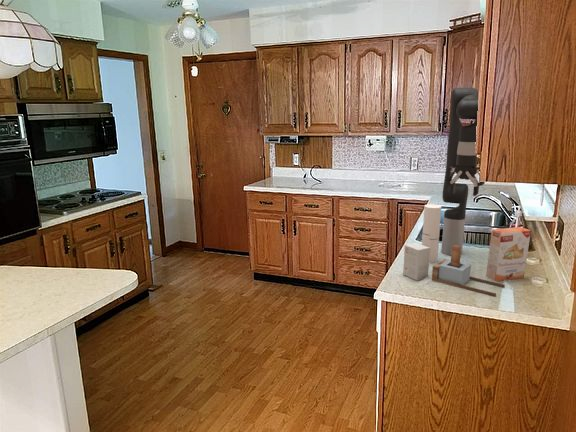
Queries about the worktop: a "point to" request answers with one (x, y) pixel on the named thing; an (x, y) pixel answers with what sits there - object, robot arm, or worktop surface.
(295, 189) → the worktop surface
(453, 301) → the worktop surface
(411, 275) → the small box
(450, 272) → the grey square collar
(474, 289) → the track
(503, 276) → the cracker box
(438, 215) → the cylindrical container
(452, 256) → the dowel
